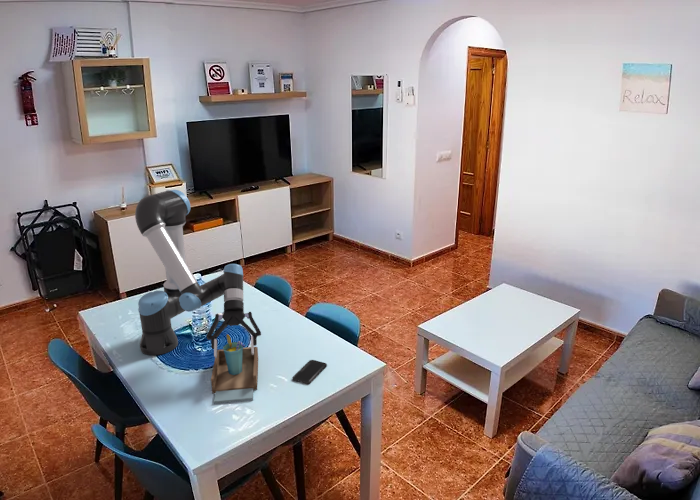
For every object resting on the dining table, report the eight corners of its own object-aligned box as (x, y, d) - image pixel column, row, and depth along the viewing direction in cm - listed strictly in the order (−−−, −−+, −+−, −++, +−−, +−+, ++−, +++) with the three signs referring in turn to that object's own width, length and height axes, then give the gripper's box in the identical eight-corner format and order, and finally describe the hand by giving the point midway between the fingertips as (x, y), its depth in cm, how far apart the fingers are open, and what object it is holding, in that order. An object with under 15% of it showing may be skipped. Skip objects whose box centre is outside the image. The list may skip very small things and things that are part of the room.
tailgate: (216, 393, 184) (214, 403, 179) (215, 391, 184) (214, 401, 179) (253, 390, 186) (253, 400, 181) (253, 388, 186) (252, 397, 180)
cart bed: (212, 393, 185) (210, 379, 183) (217, 362, 204) (216, 349, 202) (257, 389, 187) (256, 375, 185) (258, 359, 206) (257, 346, 204)
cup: (255, 375, 193) (252, 340, 188) (238, 383, 188) (234, 347, 183) (234, 361, 202) (231, 327, 197) (217, 369, 197) (214, 334, 192)
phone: (327, 363, 202) (309, 383, 189) (327, 366, 202) (309, 385, 190) (310, 359, 205) (290, 378, 192) (310, 361, 206) (291, 380, 193)
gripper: (266, 303, 204) (268, 355, 195) (202, 307, 201) (201, 360, 192) (265, 296, 198) (267, 350, 188) (199, 300, 194) (198, 355, 185)
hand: (234, 355), depth 190 cm, fingers open, 13 cm apart
